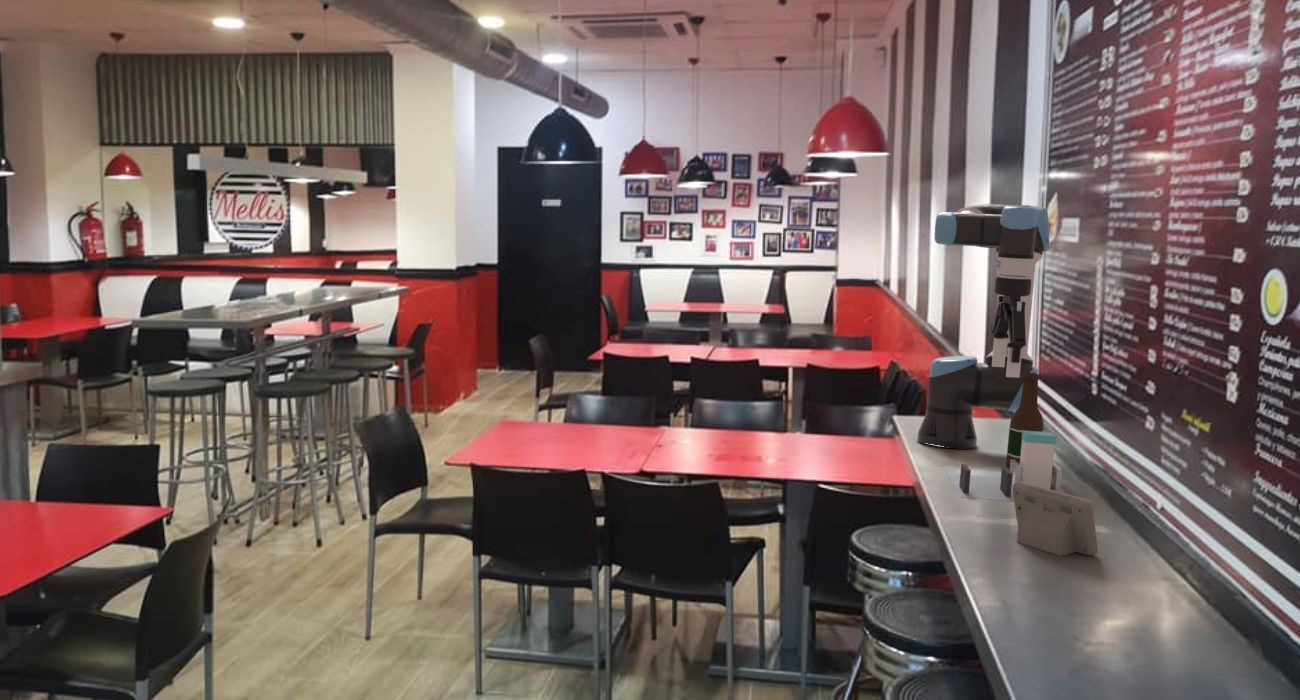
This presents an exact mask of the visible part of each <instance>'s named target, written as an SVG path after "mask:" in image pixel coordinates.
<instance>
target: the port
mask: <svg viewBox="0 0 1300 700" xmlns="http://www.w3.org/2000/svg"><path fill="white" fill-rule="evenodd" d="M1010 471H1011V472H1012V474H1013V477H1012V486H1013V484H1014V483H1015V482H1020V473H1021V466H1020V465H1019V464H1018V462H1017V461H1016V460H1011V461H1010ZM1062 473H1063V469H1062V467H1060V466H1059V465H1058V464H1057V463H1056V462H1053V467H1052V477H1051V488H1052V489H1053V490H1054V491H1057V492H1060V487H1062V485H1061V484H1062V477H1063V476H1062Z"/></svg>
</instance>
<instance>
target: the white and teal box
mask: <svg viewBox="0 0 1300 700" xmlns="http://www.w3.org/2000/svg"><path fill="white" fill-rule="evenodd" d="M1056 440H1057V436H1056V435H1055V434H1054V433H1053V432H1051V431H1043V432H1038V431H1024V430H1022V445H1021V455H1020V466H1021V473H1020V482H1022V483H1027V484H1031V485H1035V486H1039V487H1042V488H1046V489H1050V487H1051V477H1052V467H1053V463H1054V456H1055V445H1056Z"/></svg>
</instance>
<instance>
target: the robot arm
mask: <svg viewBox="0 0 1300 700" xmlns="http://www.w3.org/2000/svg"><path fill="white" fill-rule="evenodd" d="M934 241H935V243H936V244H939V245H946V246H962V247H963V246H969V247H977V248H978V247H979V248H984V249H985V248H986V249H995V250H996V251H995V256H996V257H997V260H995V262H994V266H996V274H997V275H998V277H996V278H995V283H994V293H995V295H997V302H996V303H997V305H996V313H995V316H994V322H993V326H992V330H991V333H992V334H993V345H992V347H993V348H992V351H990V353H989V354H987V355H986V356H985V363H984V362H978V359H977V357H976V356H972V355H971V356H970V355H953V356H942V357H938V358H935V359H933V360H932V361H931V364H930V370H929V375H928V378H929V380H928V390H927V401H926V403H927V404H926V412H925V416H924V417H923V419H922V422H921V425H920V427H919V429H918V431H917V439H916V440H917V442H919V443H920V442H921V443H920V444H923V443H928V444H934V445H940V446H944V447H949V448H956V449H955V450H968V449H974V448H976V447H977V440H978V437H977V432H976V429H975V425H974V421H973V409H974V408H983V409H991V410H1001V411H1002V410H1003V411H1008V412H1011V411H1013V412H1015V411H1016V410H1017V409H1018V408H1019V405H1020V402H1021V396H1022V390H1023V383H1024V378H1023V376H1024V374H1025V373H1035V374H1038V373H1039V369H1038V367H1036V366H1033V365H1034V360H1033V359H1032V357H1031V356H1030V355H1029V354H1028V350H1029V341H1030V332H1031V331H1030V329H1031V328H1030V327H1031V319H1032V318H1031V317H1032V307H1033V296H1034V287H1035V285H1034V284H1035V275H1036V266H1037V265H1036V264H1037V263H1038V262H1039V261H1040V260H1041V259H1043V255H1044V253H1046V252H1049V250H1050V224H1049V214H1048V210H1047V209H1046V208H1045V207H1044V206H1038V205H1030V204H1025V205H1024V204H993V203H982V204H976V205H970V206H966V207H962V208H960V209H958V210H956V211H955V212H954V211H949V212H939V213H938V214H936V218H935V225H934ZM973 407H974V408H973Z"/></svg>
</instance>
